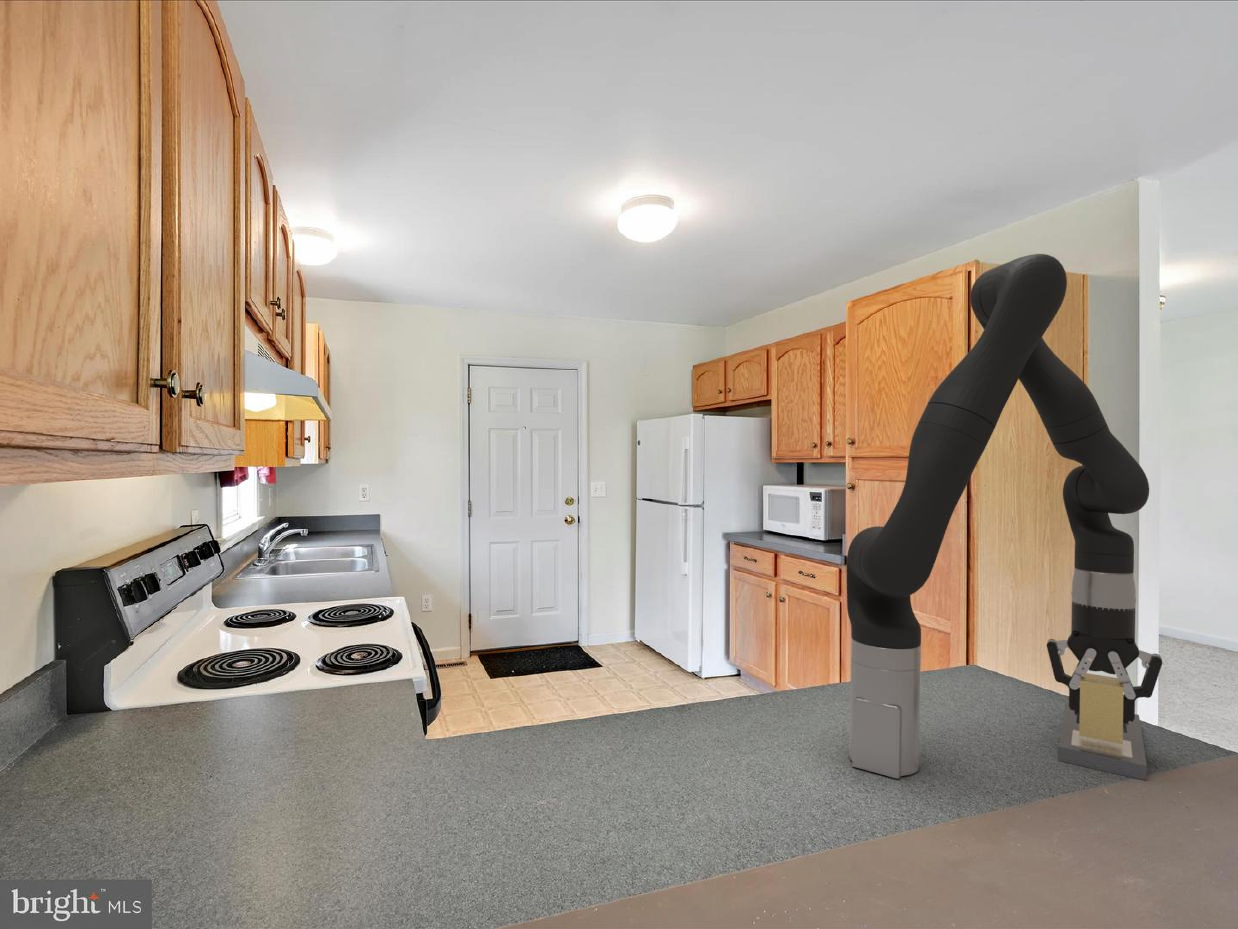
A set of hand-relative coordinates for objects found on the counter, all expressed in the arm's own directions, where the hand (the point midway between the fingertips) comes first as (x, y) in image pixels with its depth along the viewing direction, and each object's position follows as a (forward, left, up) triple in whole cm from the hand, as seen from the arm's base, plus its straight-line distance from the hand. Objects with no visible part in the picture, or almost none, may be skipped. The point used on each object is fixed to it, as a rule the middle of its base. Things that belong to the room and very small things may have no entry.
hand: (1101, 717), depth 97 cm
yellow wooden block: (0, 0, -2) cm, 2 cm away
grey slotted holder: (+7, 0, -6) cm, 9 cm away
